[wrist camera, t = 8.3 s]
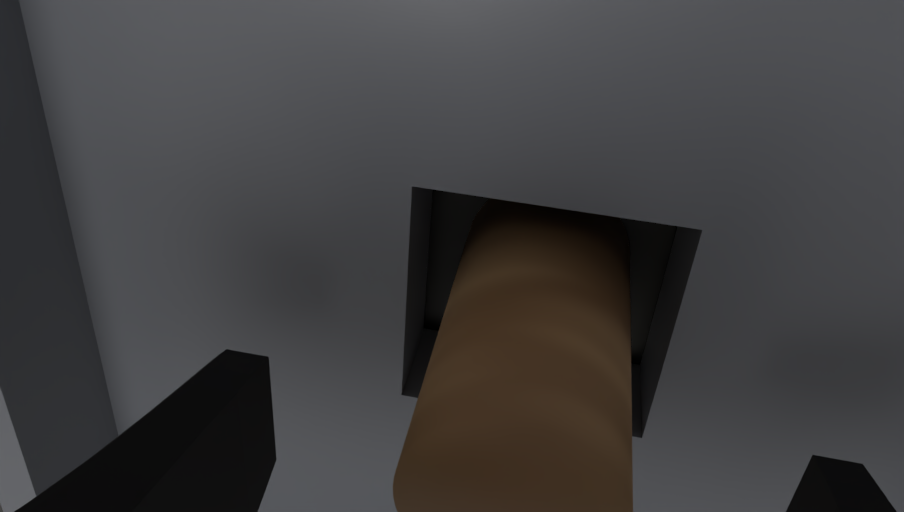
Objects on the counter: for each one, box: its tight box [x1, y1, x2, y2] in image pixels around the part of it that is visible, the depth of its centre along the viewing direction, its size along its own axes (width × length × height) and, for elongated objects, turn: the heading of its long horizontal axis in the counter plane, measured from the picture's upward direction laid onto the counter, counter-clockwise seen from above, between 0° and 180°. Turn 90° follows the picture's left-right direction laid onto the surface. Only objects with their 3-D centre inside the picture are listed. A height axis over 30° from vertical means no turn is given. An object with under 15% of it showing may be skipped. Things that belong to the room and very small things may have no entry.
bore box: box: [0, 0, 904, 512], centre depth 13 cm, size 18×17×4 cm
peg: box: [393, 198, 633, 512], centre depth 13 cm, size 3×3×6 cm
